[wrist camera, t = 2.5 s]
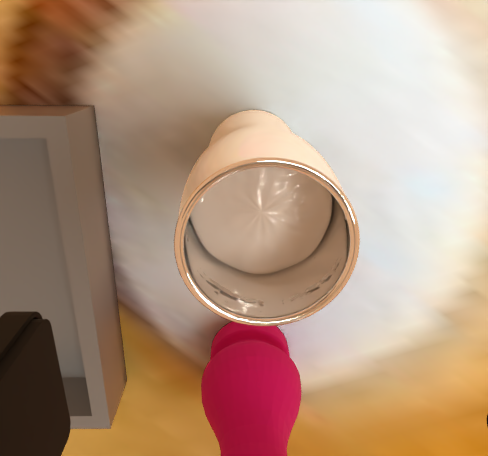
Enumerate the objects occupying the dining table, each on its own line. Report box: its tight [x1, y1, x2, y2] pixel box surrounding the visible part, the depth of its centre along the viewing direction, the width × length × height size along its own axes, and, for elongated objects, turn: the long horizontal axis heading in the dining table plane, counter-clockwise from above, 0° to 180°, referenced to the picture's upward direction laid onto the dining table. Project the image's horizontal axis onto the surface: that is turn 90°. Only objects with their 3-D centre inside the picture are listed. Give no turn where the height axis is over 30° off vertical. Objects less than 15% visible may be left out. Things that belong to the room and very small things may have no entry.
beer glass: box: [174, 110, 360, 326], centre depth 22 cm, size 7×7×15 cm
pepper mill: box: [201, 322, 301, 456], centre depth 26 cm, size 7×7×20 cm
